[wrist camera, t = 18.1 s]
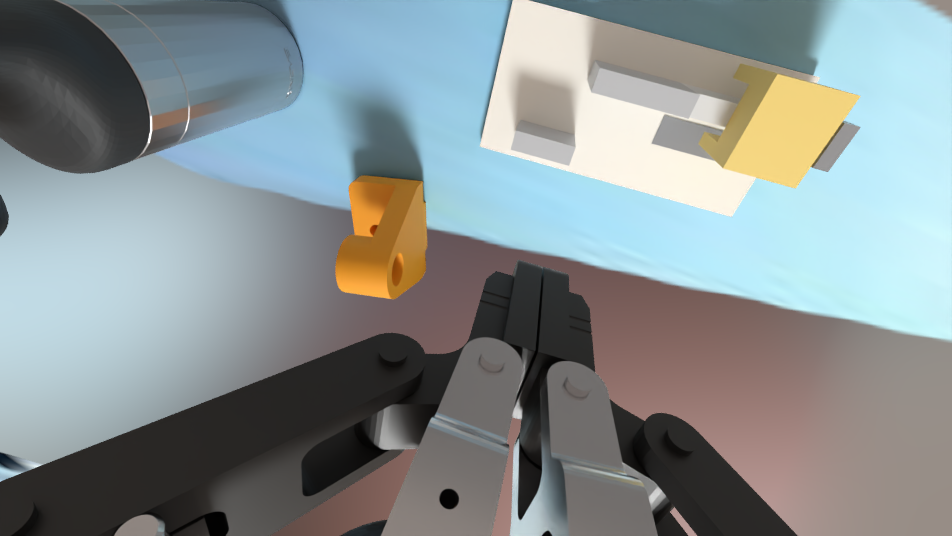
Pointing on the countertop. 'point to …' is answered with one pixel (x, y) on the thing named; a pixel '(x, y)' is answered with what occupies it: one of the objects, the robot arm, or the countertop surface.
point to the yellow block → (778, 126)
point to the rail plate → (623, 106)
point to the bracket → (384, 238)
